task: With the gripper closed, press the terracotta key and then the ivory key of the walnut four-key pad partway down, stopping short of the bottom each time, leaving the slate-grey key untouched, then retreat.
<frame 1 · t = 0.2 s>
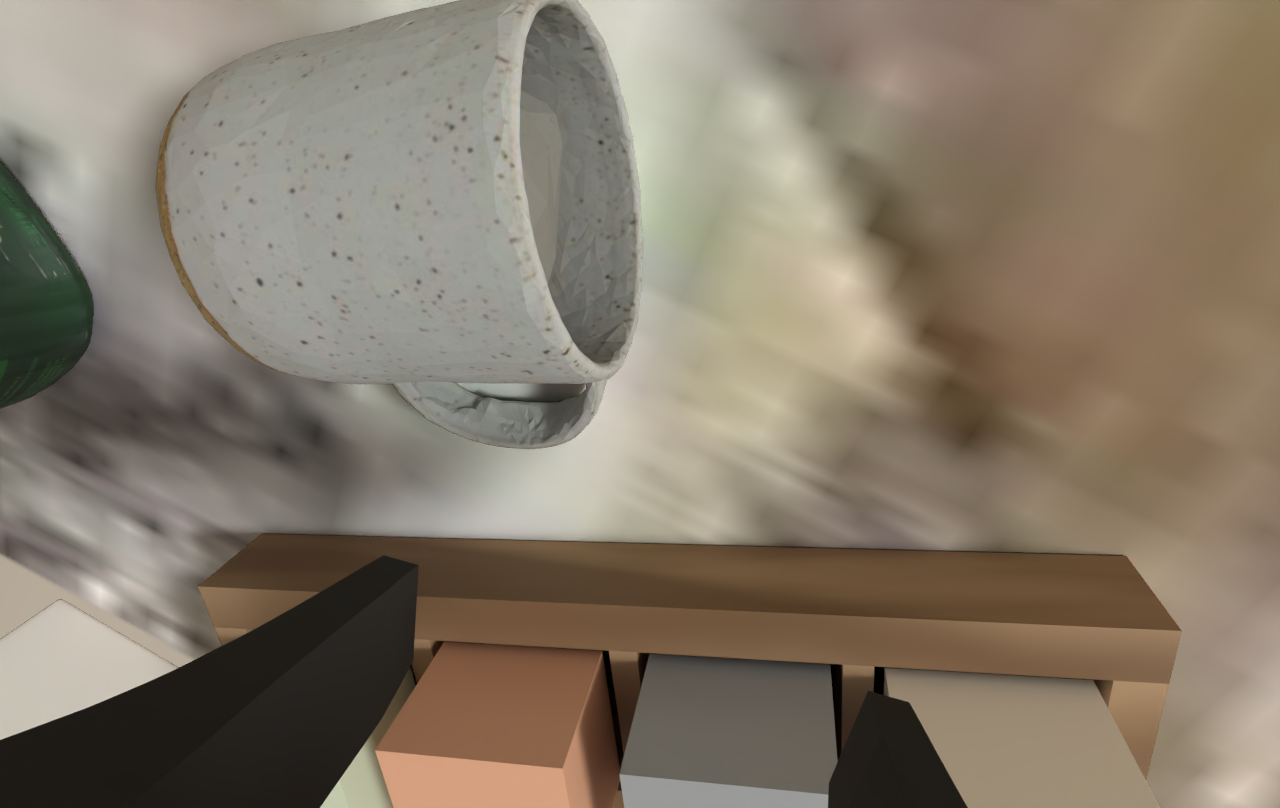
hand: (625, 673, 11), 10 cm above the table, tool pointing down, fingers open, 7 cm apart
key slate: (736, 786, 19), point 5 cm above the table, slide at 0.0 cm
keypad frame: (650, 654, 24), on the table
ceramic mug: (516, 241, 19), on the table
milk: (116, 673, 30), on the table
key terracotta: (511, 764, 20), point 5 cm above the table, slide at 0.0 cm
key sage: (314, 745, 22), point 5 cm above the table, slide at 0.0 cm
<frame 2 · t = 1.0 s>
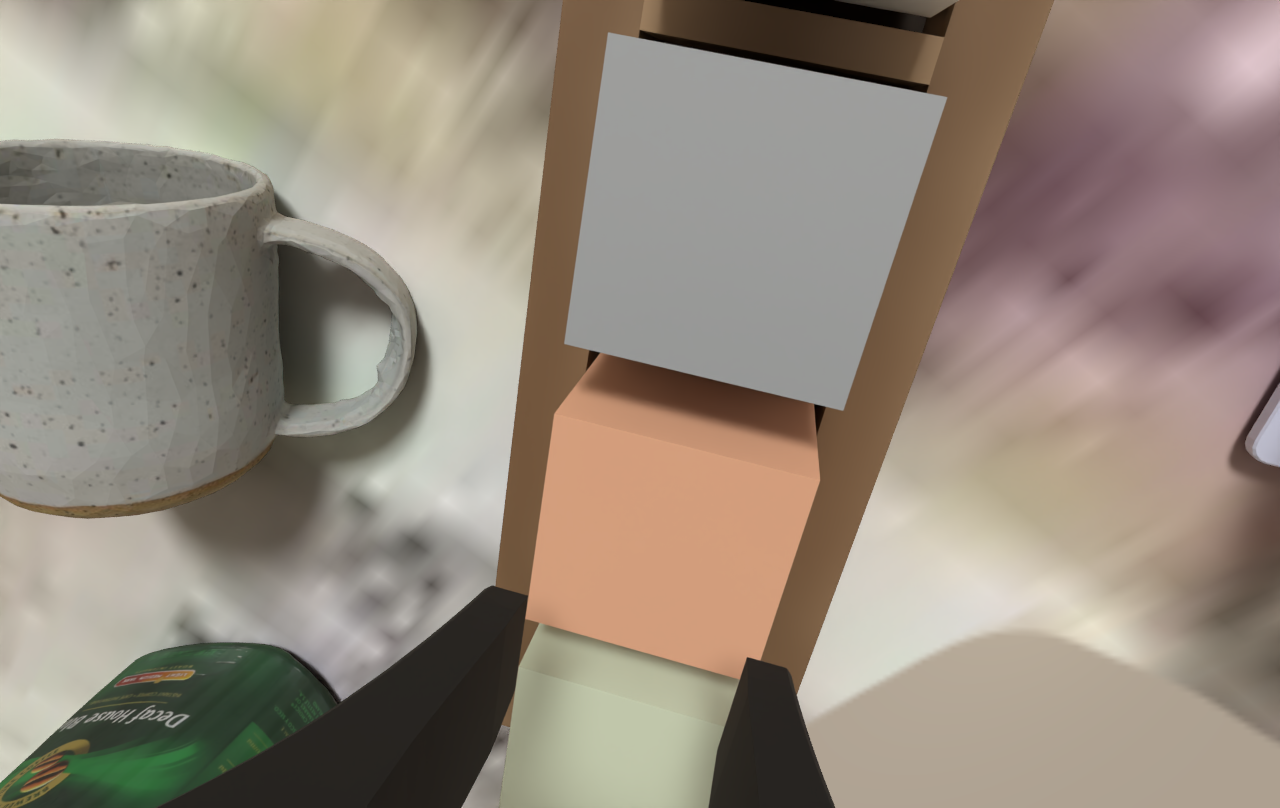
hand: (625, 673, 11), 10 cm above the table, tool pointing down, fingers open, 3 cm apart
key slate: (741, 216, 13), point 5 cm above the table, slide at 0.0 cm
coffee jar: (253, 702, 29), on the table
keypad frame: (723, 312, 19), on the table
ceramic mug: (266, 286, 21), on the table
key terracotta: (673, 504, 16), point 5 cm above the table, slide at 0.0 cm
key sage: (626, 708, 18), point 5 cm above the table, slide at 0.0 cm
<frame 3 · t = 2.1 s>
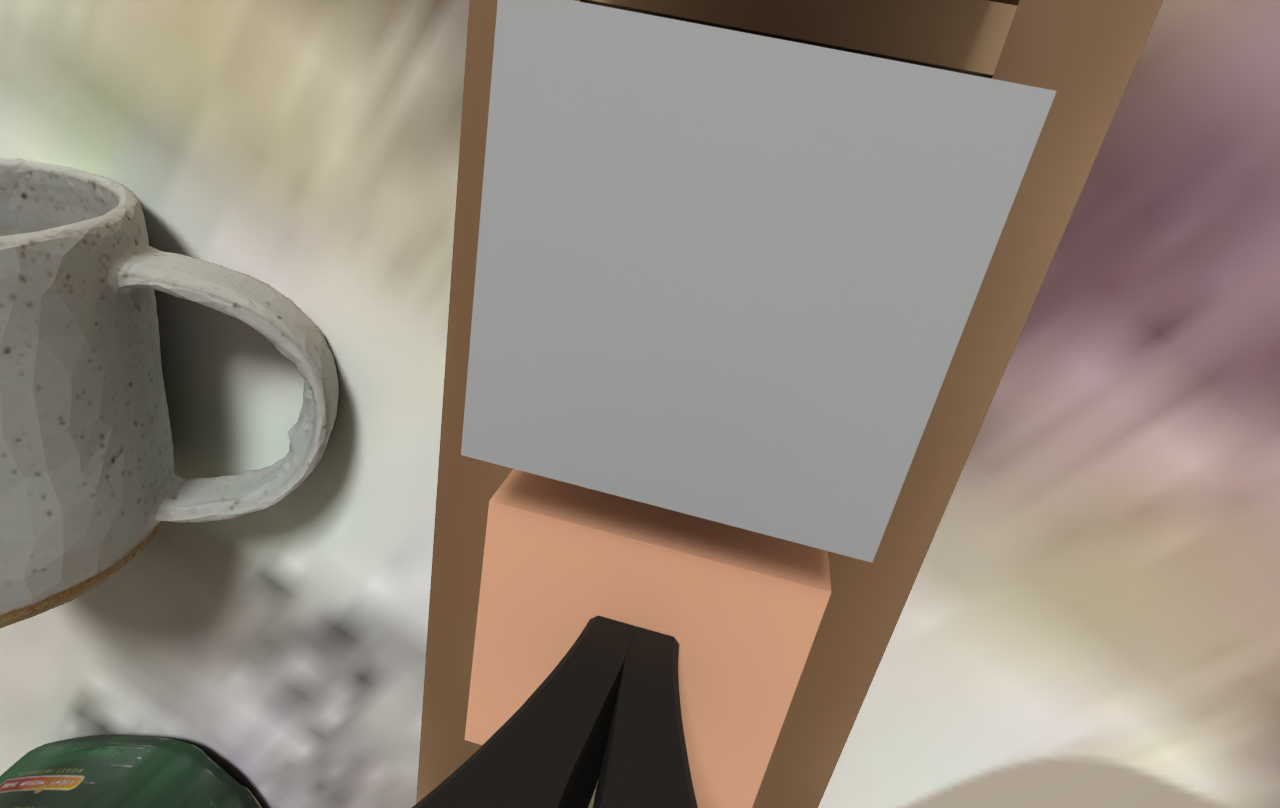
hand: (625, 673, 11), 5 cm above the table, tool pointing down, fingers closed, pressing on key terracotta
key slate: (722, 265, 9), point 5 cm above the table, slide at 0.0 cm
coffee jar: (169, 797, 25), on the table
keypad frame: (707, 368, 15), on the table
ceramic mug: (156, 330, 17), on the table
key terracotta: (649, 594, 13), point 3 cm above the table, slide at 1.2 cm, touching gripper
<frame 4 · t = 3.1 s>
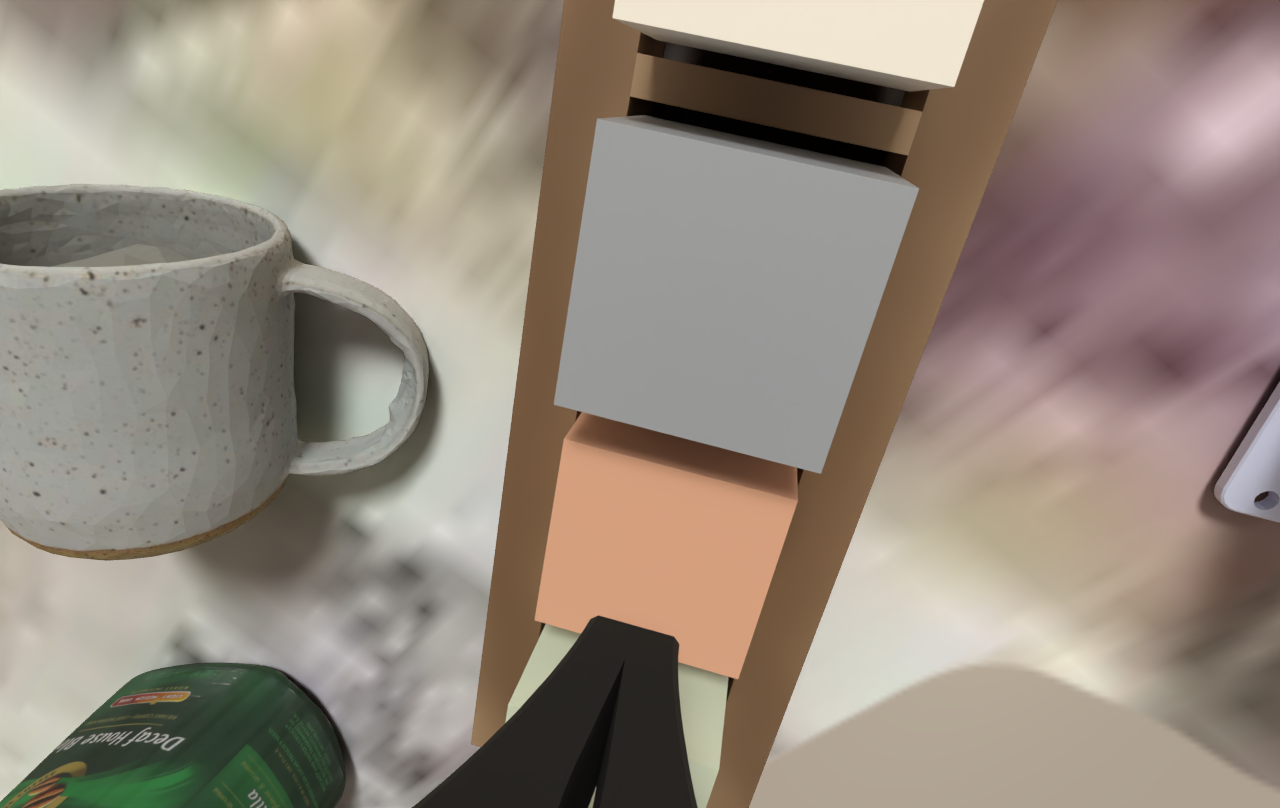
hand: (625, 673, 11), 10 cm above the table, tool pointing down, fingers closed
key slate: (726, 281, 14), point 5 cm above the table, slide at 0.0 cm
coffee jar: (248, 720, 29), on the table
keypad frame: (711, 355, 19), on the table
ceramic mug: (279, 324, 22), on the table
key terracotta: (669, 517, 17), point 3 cm above the table, slide at 1.4 cm
key sage: (612, 741, 19), point 5 cm above the table, slide at 0.0 cm
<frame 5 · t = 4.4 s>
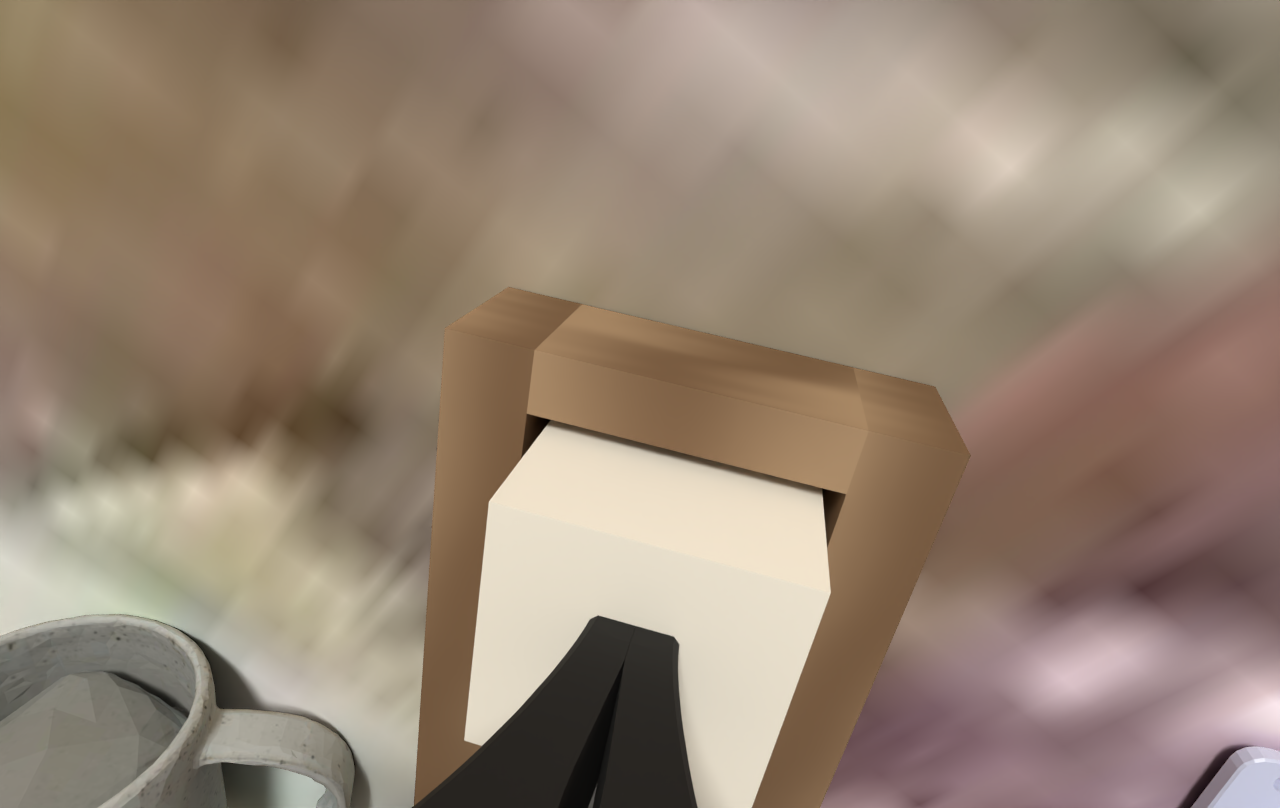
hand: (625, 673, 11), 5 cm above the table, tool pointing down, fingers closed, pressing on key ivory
keypad frame: (608, 785, 20), on the table
ceramic mug: (213, 711, 23), on the table
key ivory: (648, 595, 13), point 3 cm above the table, slide at 1.3 cm, touching gripper
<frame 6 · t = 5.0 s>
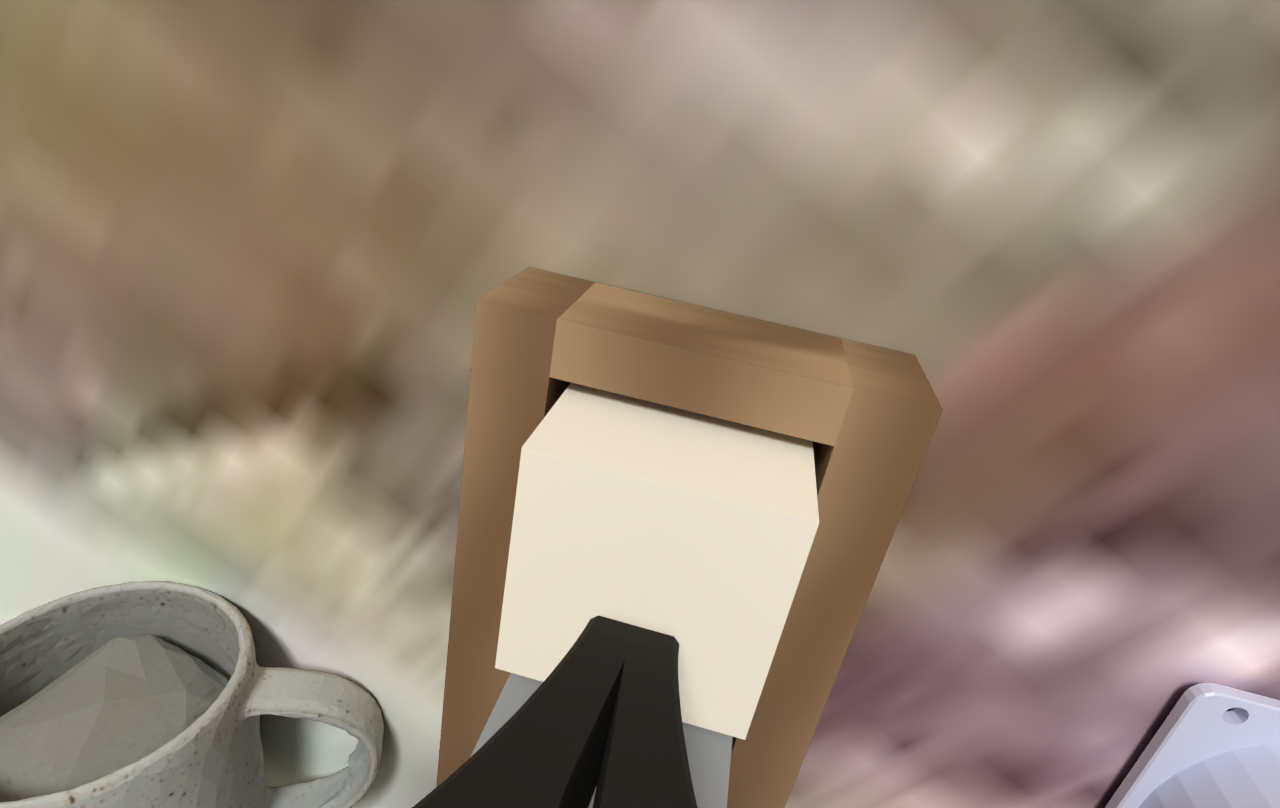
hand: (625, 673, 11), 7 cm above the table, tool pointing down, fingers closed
key slate: (595, 805, 16), point 5 cm above the table, slide at 0.0 cm
keypad frame: (617, 735, 21), on the table
ceramic mug: (250, 674, 24), on the table
key ivory: (658, 539, 14), point 3 cm above the table, slide at 1.4 cm
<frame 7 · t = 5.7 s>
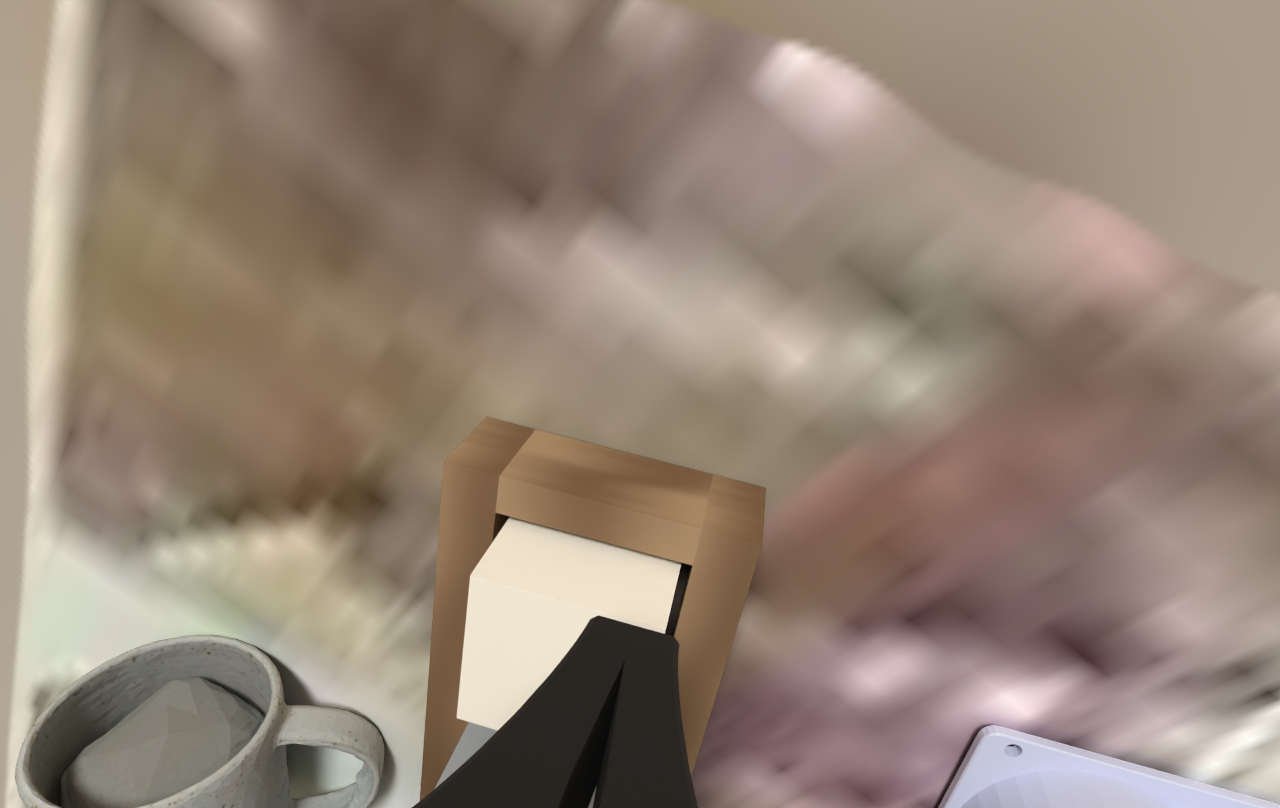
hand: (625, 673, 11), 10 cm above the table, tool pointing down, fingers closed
keypad frame: (564, 758, 27), on the table
ceramic mug: (276, 707, 30), on the table
key ivory: (574, 625, 20), point 3 cm above the table, slide at 1.4 cm
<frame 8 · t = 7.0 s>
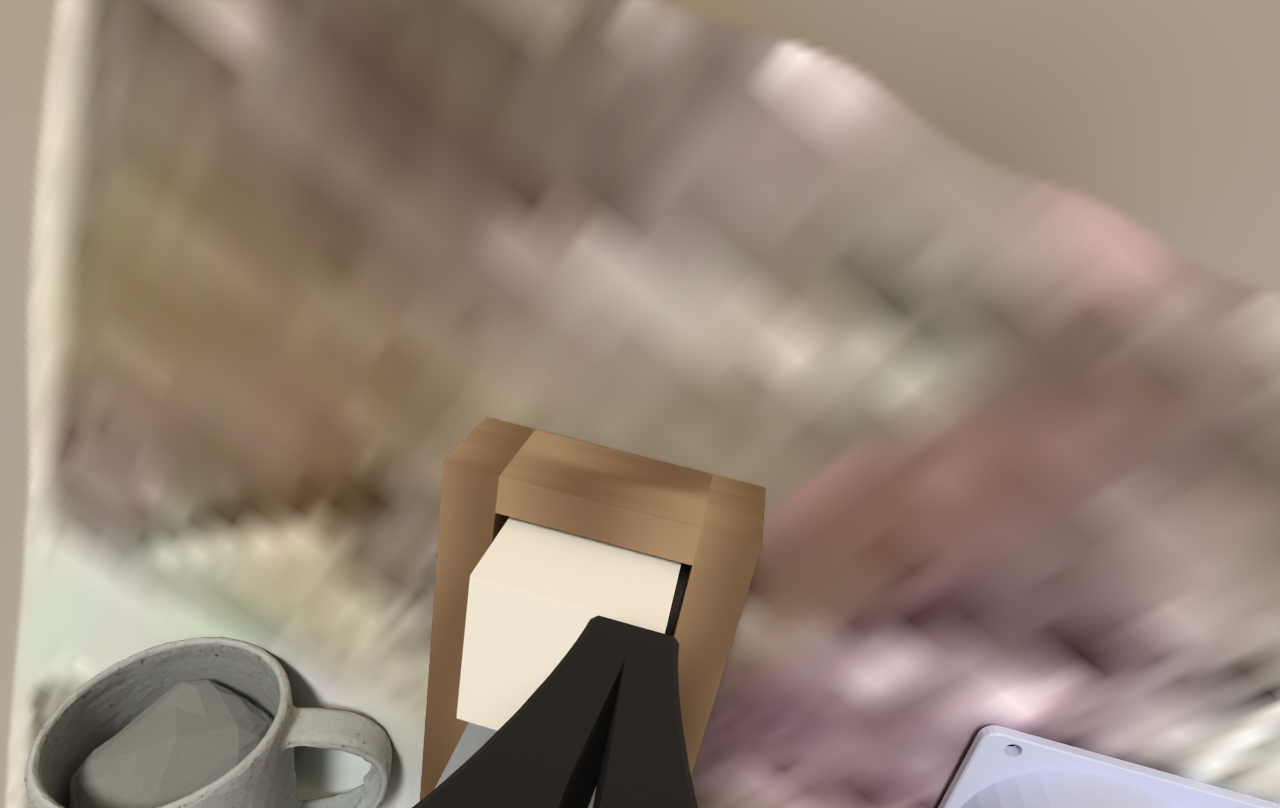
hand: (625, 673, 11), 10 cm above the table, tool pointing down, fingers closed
keypad frame: (564, 758, 27), on the table
ceramic mug: (284, 709, 30), on the table
key ivory: (574, 625, 20), point 3 cm above the table, slide at 1.4 cm
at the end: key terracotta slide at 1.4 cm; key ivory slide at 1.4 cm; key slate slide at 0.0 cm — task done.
